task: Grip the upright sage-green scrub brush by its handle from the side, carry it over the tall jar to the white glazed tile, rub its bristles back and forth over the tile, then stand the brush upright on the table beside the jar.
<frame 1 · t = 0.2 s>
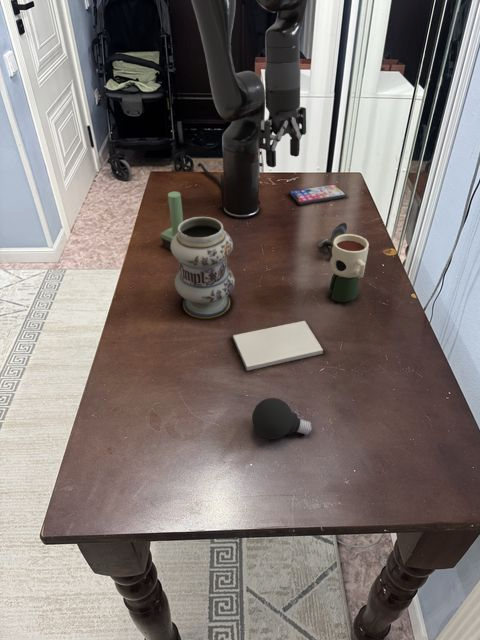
hand: (283, 161, 115), 17 cm above the table, tool pointing down, fingers open, 8 cm apart
character mug: (342, 296, 107), on the table
apothecary jar: (206, 304, 103), on the table
light bulb: (279, 430, 80), on the table
smartphone: (317, 196, 141), on the table
eagle figurine: (331, 252, 120), on the table
white tile: (277, 346, 94), on the table
scrub brush: (179, 247, 119), on the table
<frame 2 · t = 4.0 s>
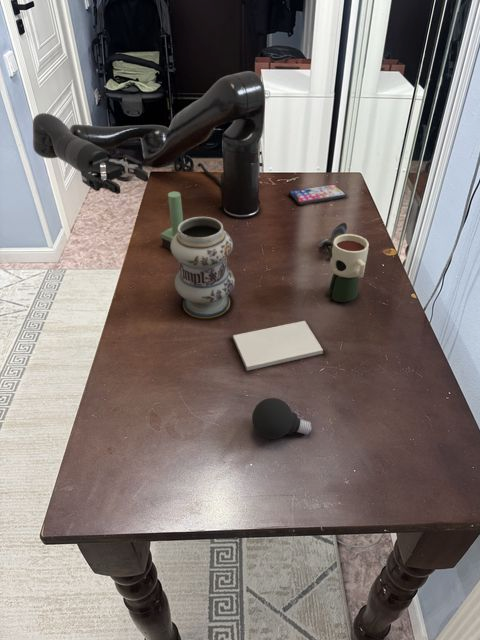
hand: (133, 183, 115), 13 cm above the table, tool horizontal, fingers open, 8 cm apart
nothing on the table moved.
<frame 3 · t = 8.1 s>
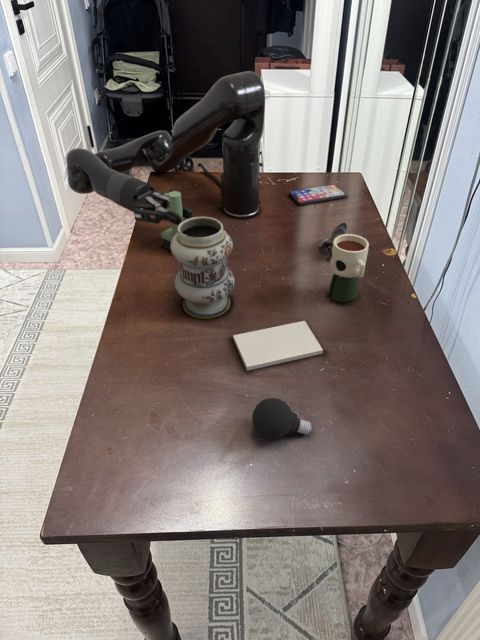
hand: (185, 218, 112), 9 cm above the table, tool horizontal, fingers closed on scrub brush, 3 cm apart
scrub brush: (179, 247, 119), on the table, touching gripper
everything else where it was.
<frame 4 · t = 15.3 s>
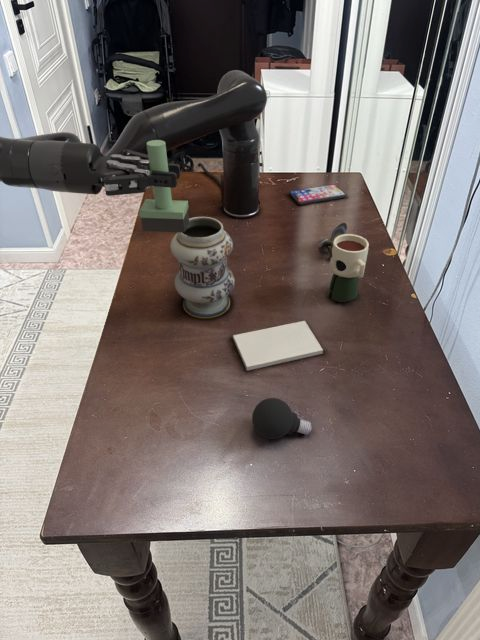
hand: (177, 176, 78), 30 cm above the table, tool horizontal, fingers closed on scrub brush, 3 cm apart
scrub brush: (166, 225, 83), point 22 cm above the table, touching gripper
everything else where it was.
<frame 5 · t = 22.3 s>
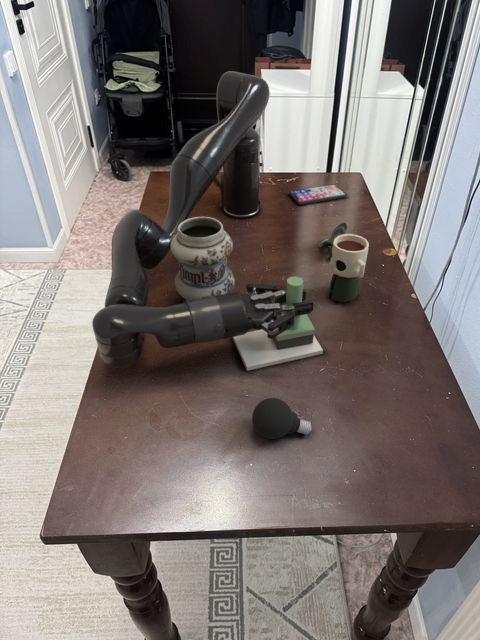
hand: (308, 300, 89), 10 cm above the table, tool horizontal, fingers closed on scrub brush, 3 cm apart
scrub brush: (291, 339, 94), point 1 cm above the table, touching gripper
everything else where it was.
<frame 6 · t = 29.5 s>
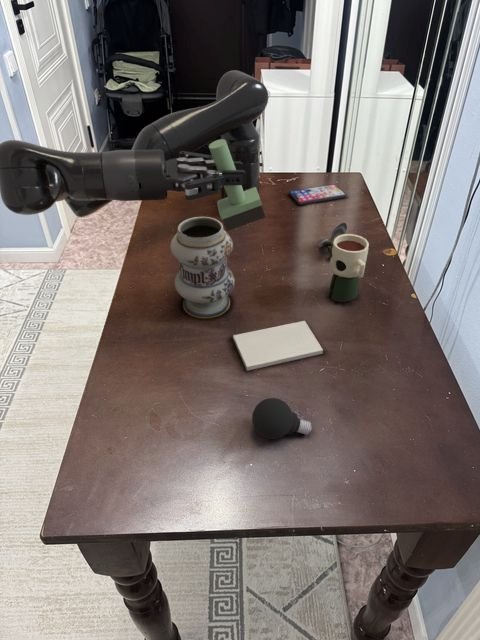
hand: (243, 173, 80), 30 cm above the table, tool horizontal, fingers closed on scrub brush, 3 cm apart
scrub brush: (244, 218, 86), point 22 cm above the table, tilted 18°, touching gripper
everything else where it was.
when the fingers open (9 cm above the table, at t = 36.3 s): scrub brush drops 1 cm, on the table.
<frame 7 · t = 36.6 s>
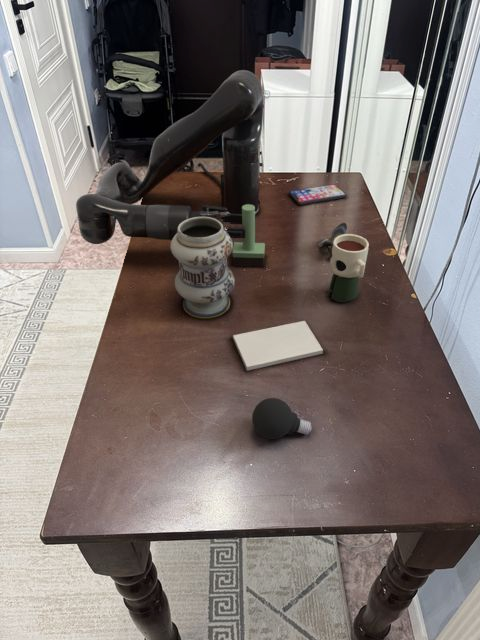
hand: (245, 226, 109), 9 cm above the table, tool horizontal, fingers open, 5 cm apart
scrub brush: (249, 261, 115), on the table
everything else where it was.
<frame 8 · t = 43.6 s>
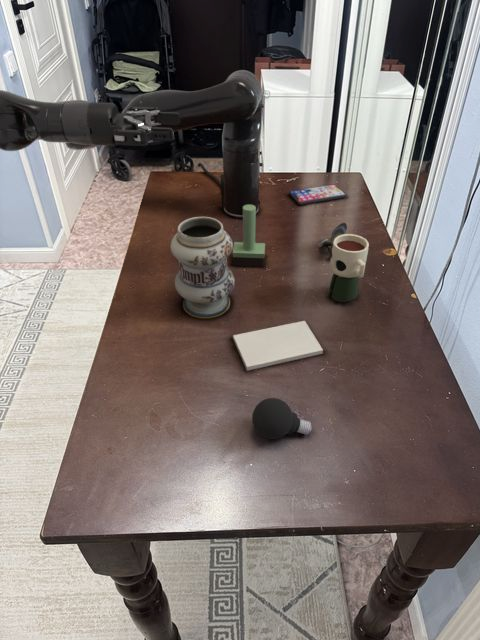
hand: (176, 126, 95), 30 cm above the table, tool horizontal, fingers open, 8 cm apart
nothing on the table moved.
at the end: scrub brush tilted 0°; the gripper is holding nothing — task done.
